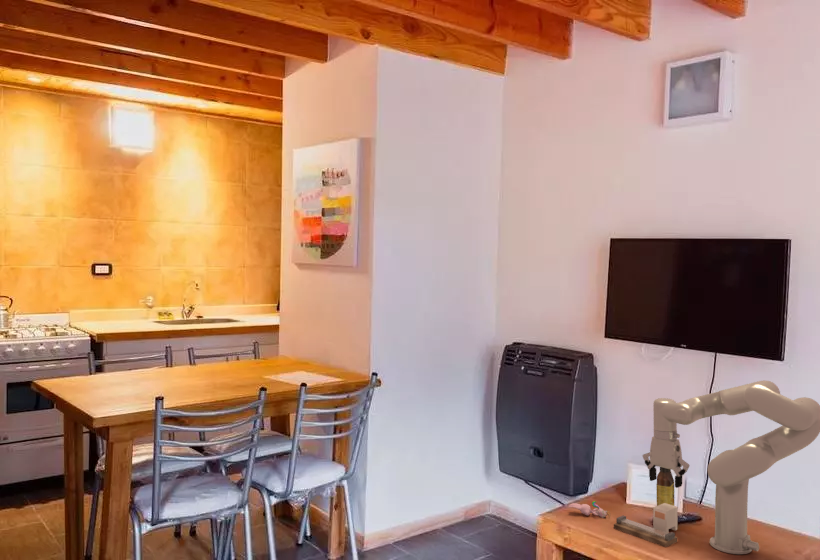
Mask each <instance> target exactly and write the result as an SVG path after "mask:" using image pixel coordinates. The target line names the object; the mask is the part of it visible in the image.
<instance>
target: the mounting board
mask: <svg viewBox="0 0 820 560" xmlns="http://www.w3.org/2000/svg"><path fill="white" fill-rule="evenodd" d="M613 529H615V530H618V531H620V532H623V533H625V534H628V535H631V536H634V537H636V538H638V539H642V540H645V541H648V542H649V543H650V542H651V543H653V544H656V545H659V546H662V547H664V548H667V547H669V546H672V545H674V544H676V543H678V537H677V536H675V538H674V539H672V540H670V541H666V540H665V539H662V538H659V537H656V536H653V535H650V534H648V533H645V532H642V531H639V530H636V529H633V528H631V527H628V526H625V525H622V524H618V523H616V522H615V523H614V524H613Z"/></svg>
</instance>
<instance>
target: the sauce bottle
mask: <svg viewBox="0 0 820 560" xmlns="http://www.w3.org/2000/svg"><path fill="white" fill-rule="evenodd" d="M671 470H672V469H667V468H663V467H659V472H658V474H656V483H655V485H656V506H658V505H661V504H663V503H667V504H670V505H673V506H675V478H674V477H673V474H672V471H671Z"/></svg>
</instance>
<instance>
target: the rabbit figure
mask: <svg viewBox="0 0 820 560" xmlns="http://www.w3.org/2000/svg"><path fill="white" fill-rule="evenodd" d="M596 503H597V501H595V500H593V501H592V502H591V505H592V506H593V508H594V509H592V508H591V506H590V505H589V504H587V503H582V504H580V503H576V502H575V503H574V502H573V503H570V504H568V506H567V507H568V508H574V509H577V510H579V511H580V513H581V514H584V515H585V516H589V515H591V514H593V515H594V516H598V517H600V518H602V519H604V518H605V519H606V517H607V515H608V518H611V511H608V510H604V509H603V508H602V507H600V506H599V505H598V504H596Z"/></svg>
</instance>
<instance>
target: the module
mask: <svg viewBox="0 0 820 560" xmlns="http://www.w3.org/2000/svg"><path fill="white" fill-rule="evenodd" d="M678 508H679V507H678V506H676V505H674V506H673V505H670V504H667V503H663V504H661V505H658V506H657V505H656V506H654V507H653V510H652V511H653V513H652V514H653V516H652V519H653V520H652V524H653V525H652V528H655V529H658V530H660V531H663V532H666V533H670V532H669V530H672V531H677V530H678V521H679V520H678V517H679V516H678V515H679V514H678V513H679V510H678Z"/></svg>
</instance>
